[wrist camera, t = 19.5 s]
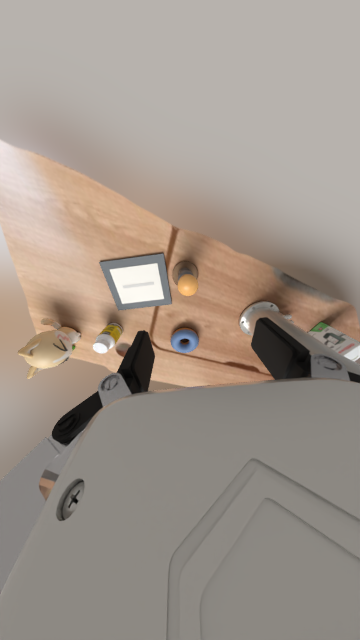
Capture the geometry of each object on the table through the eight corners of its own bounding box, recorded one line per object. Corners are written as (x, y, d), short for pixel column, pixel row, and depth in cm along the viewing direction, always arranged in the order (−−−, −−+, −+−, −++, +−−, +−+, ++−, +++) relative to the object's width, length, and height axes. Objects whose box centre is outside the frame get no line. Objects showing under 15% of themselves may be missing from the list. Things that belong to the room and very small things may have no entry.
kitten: (86, 351, 50) (54, 389, 37) (58, 345, 48) (13, 382, 35) (86, 320, 43) (46, 353, 30) (52, 311, 41) (-6, 342, 28)
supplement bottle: (118, 321, 43) (104, 339, 34) (125, 333, 45) (113, 353, 37) (104, 323, 43) (86, 342, 35) (111, 336, 46) (96, 356, 37)
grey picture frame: (163, 253, 33) (163, 253, 32) (171, 303, 40) (171, 304, 39) (100, 262, 34) (98, 262, 33) (119, 309, 41) (118, 310, 40)
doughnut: (186, 352, 50) (187, 360, 46) (165, 339, 47) (164, 346, 43) (203, 334, 47) (205, 341, 43) (181, 319, 44) (182, 325, 40)
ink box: (320, 321, 44) (363, 343, 34) (329, 326, 45) (374, 349, 35) (299, 339, 48) (332, 364, 38) (308, 343, 49) (343, 368, 39)
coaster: (196, 259, 34) (197, 259, 33) (198, 285, 37) (198, 286, 37) (170, 263, 34) (170, 263, 34) (174, 288, 38) (174, 289, 37)
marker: (192, 266, 34) (197, 274, 24) (193, 281, 36) (198, 294, 27) (176, 268, 34) (176, 276, 25) (178, 283, 36) (179, 297, 27)
